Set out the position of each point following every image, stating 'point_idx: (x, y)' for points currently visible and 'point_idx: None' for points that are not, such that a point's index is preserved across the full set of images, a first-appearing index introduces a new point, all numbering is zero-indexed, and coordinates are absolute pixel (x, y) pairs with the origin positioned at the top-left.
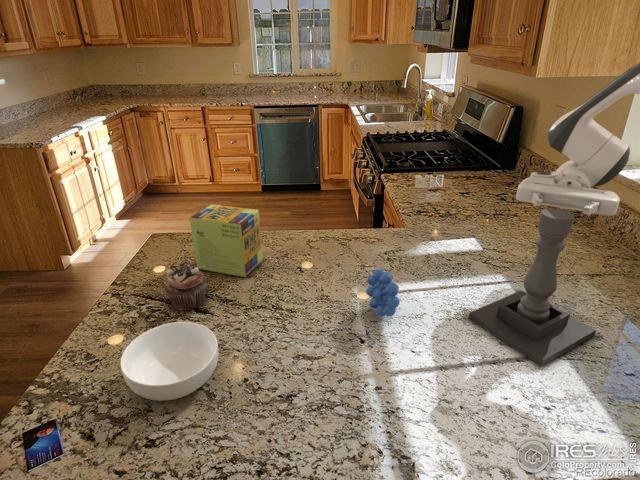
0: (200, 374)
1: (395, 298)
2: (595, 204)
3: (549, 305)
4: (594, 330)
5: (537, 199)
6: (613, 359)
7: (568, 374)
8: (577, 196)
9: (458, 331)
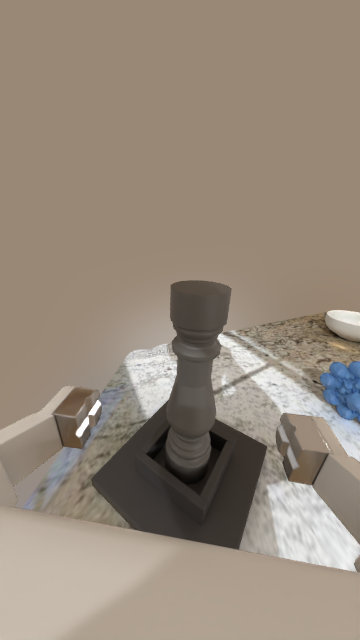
0: (328, 317)
1: (326, 373)
2: (6, 430)
3: (169, 431)
4: (95, 475)
5: (312, 417)
6: (92, 438)
7: (149, 400)
8: (66, 519)
9: (259, 422)
